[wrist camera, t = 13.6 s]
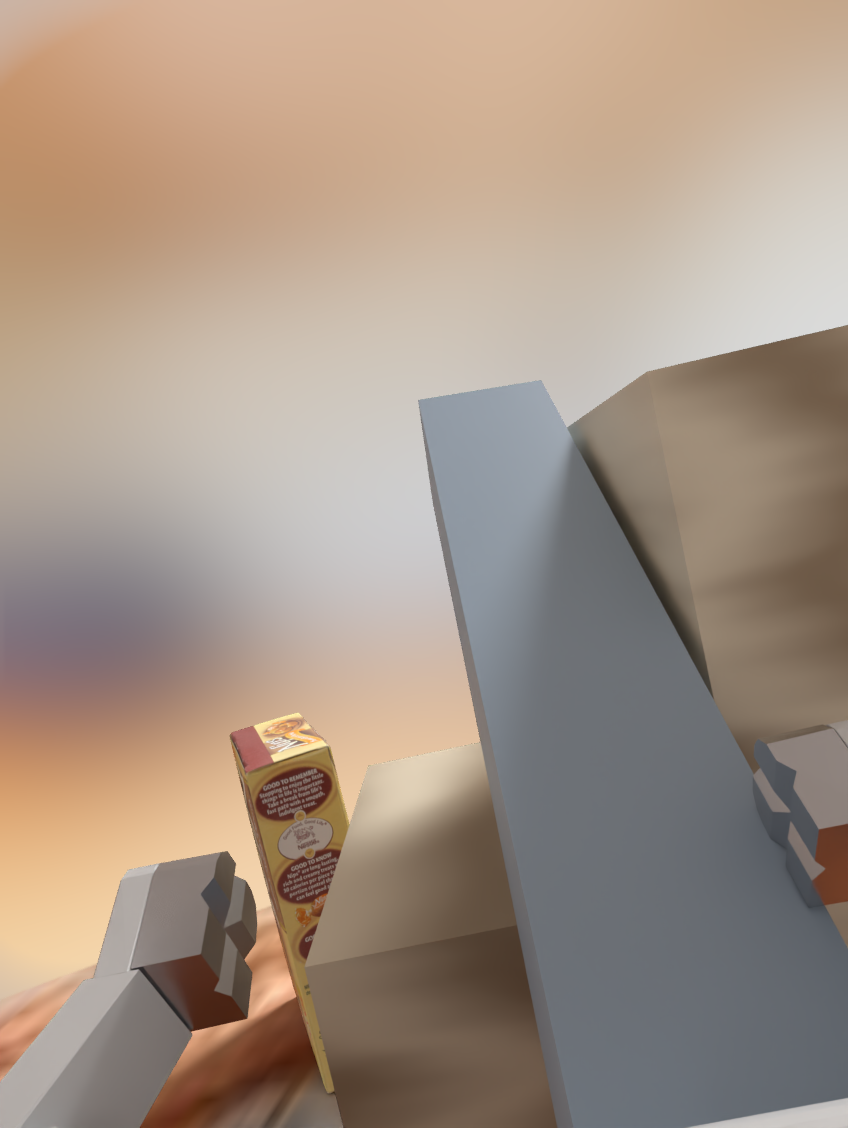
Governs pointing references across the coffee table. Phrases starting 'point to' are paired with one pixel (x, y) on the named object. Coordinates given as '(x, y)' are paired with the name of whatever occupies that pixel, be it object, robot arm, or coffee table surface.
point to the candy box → (294, 838)
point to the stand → (458, 775)
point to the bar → (621, 802)
